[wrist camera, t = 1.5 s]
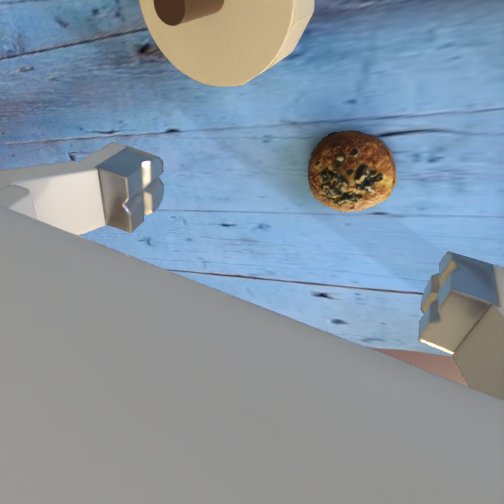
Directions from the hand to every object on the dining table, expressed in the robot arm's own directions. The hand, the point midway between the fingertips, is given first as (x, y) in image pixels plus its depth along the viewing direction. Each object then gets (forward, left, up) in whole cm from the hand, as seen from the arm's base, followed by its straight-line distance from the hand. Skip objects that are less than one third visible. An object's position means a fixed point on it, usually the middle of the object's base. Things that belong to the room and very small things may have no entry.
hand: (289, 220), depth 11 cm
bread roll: (+16, +5, -39) cm, 42 cm away
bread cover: (+6, -17, -38) cm, 42 cm away
